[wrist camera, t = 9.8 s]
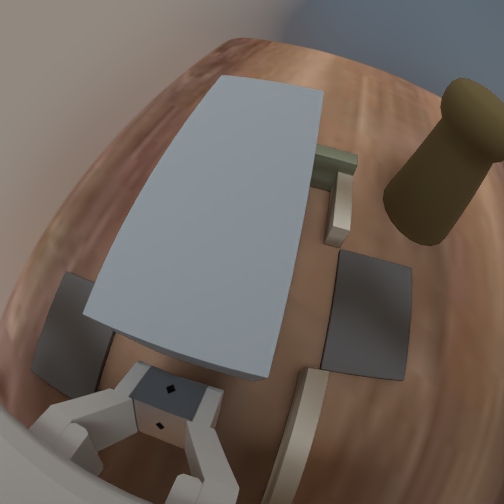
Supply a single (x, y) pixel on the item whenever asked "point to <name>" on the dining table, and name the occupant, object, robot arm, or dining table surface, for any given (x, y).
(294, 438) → the lane
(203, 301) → the grey brick
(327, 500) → the dining table surface
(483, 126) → the cork
